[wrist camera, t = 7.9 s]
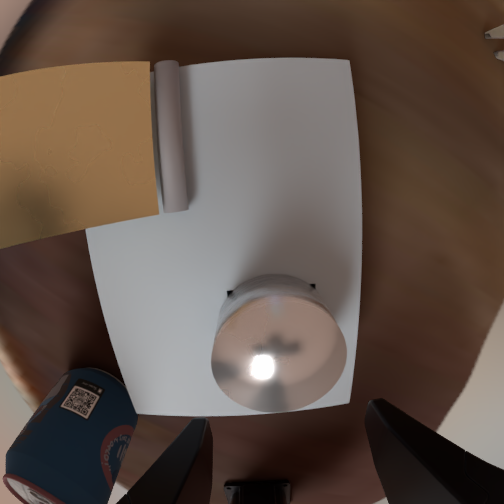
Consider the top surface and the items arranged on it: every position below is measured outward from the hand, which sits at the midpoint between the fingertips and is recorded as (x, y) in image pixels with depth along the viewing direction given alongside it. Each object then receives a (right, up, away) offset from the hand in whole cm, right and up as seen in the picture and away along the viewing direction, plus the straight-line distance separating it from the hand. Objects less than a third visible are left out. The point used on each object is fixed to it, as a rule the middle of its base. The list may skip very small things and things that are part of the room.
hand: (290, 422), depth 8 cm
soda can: (-13, -7, +13) cm, 20 cm away
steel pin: (0, +3, +10) cm, 11 cm away
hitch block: (-2, +5, +10) cm, 12 cm away
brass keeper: (-10, +8, 0) cm, 12 cm away
